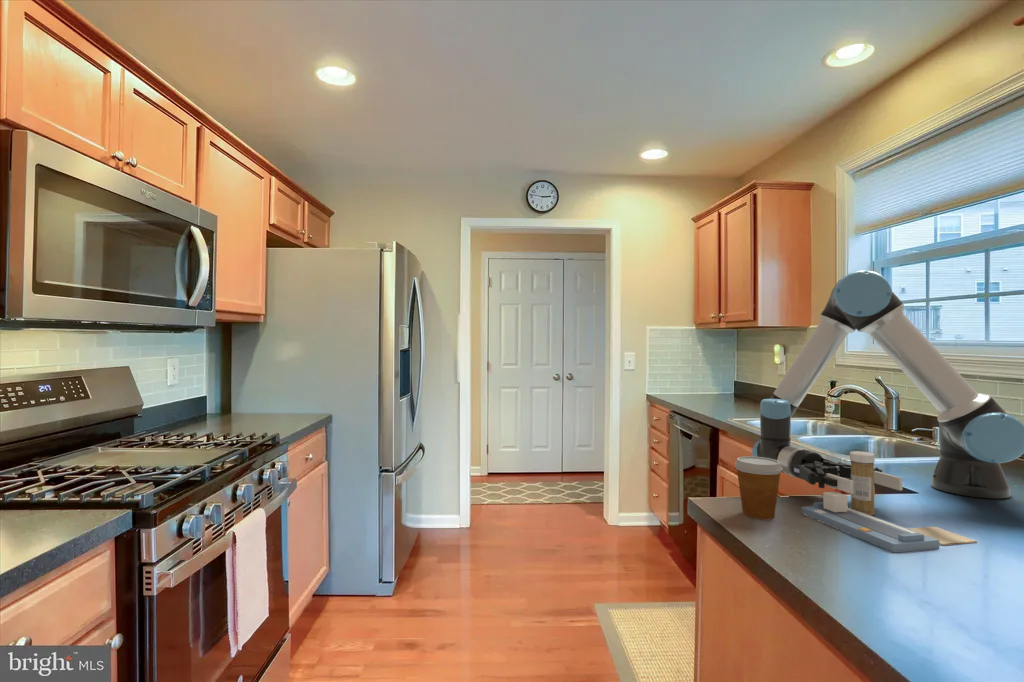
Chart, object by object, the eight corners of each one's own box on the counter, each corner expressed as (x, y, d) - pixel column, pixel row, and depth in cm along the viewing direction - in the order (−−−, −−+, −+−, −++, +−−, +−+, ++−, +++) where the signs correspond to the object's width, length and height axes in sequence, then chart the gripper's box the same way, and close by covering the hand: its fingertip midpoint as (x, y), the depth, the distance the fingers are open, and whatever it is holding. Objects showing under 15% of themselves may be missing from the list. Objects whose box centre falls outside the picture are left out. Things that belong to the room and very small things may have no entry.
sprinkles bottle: (878, 513, 113) (878, 453, 113) (869, 517, 110) (869, 455, 111) (855, 508, 117) (855, 449, 117) (846, 511, 114) (846, 451, 114)
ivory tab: (836, 507, 112) (835, 490, 112) (847, 511, 109) (847, 494, 109) (823, 508, 111) (823, 491, 111) (834, 512, 108) (834, 495, 108)
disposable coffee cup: (726, 508, 116) (726, 456, 116) (766, 507, 117) (766, 455, 117) (749, 522, 107) (749, 465, 107) (792, 521, 107) (792, 464, 108)
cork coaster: (934, 527, 104) (934, 526, 104) (976, 542, 96) (976, 540, 96) (901, 530, 102) (901, 529, 102) (942, 545, 94) (942, 543, 94)
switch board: (839, 511, 115) (839, 499, 115) (939, 548, 93) (938, 534, 93) (801, 513, 113) (801, 502, 113) (893, 552, 91) (893, 538, 91)
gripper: (841, 476, 134) (922, 499, 112) (760, 480, 129) (828, 506, 108) (841, 447, 134) (922, 465, 113) (760, 450, 129) (828, 470, 108)
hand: (876, 485), depth 110 cm, fingers open, 12 cm apart
